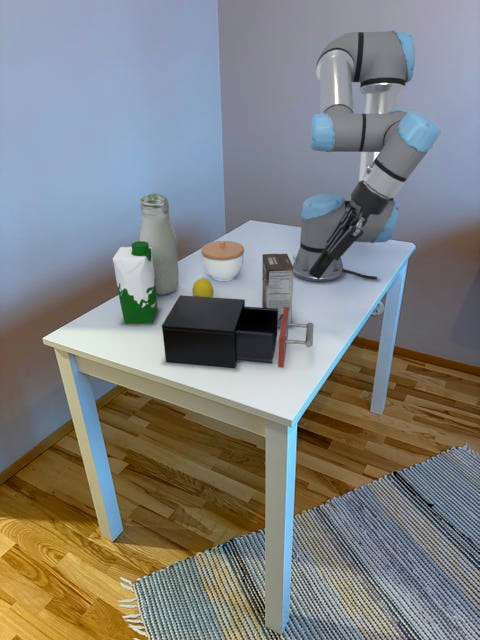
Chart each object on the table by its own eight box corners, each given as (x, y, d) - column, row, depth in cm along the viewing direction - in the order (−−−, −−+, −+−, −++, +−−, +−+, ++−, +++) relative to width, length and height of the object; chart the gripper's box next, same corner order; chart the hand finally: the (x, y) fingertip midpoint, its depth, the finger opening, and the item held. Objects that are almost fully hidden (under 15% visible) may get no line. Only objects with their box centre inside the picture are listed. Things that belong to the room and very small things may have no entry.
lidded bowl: (214, 265, 149) (213, 232, 143) (250, 271, 144) (250, 238, 138) (195, 280, 139) (192, 246, 133) (233, 288, 134) (232, 252, 129)
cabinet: (245, 334, 113) (244, 299, 108) (235, 368, 101) (234, 331, 96) (183, 329, 115) (179, 295, 110) (165, 362, 103) (161, 325, 98)
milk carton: (155, 325, 117) (145, 251, 107) (119, 325, 117) (107, 251, 107) (161, 308, 124) (153, 237, 114) (128, 308, 125) (116, 237, 115)
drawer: (312, 337, 109) (314, 308, 105) (310, 370, 98) (313, 339, 94) (228, 331, 112) (227, 302, 108) (217, 362, 101) (215, 331, 97)
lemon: (211, 310, 123) (209, 283, 119) (191, 308, 124) (189, 281, 120) (216, 300, 128) (215, 274, 124) (196, 299, 129) (195, 272, 125)
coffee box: (261, 310, 123) (261, 253, 115) (285, 309, 123) (287, 252, 115) (265, 328, 115) (266, 268, 107) (291, 326, 115) (294, 267, 107)
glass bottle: (144, 301, 128) (131, 200, 114) (147, 285, 137) (135, 189, 123) (180, 299, 129) (171, 199, 115) (181, 283, 138) (173, 188, 123)
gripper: (358, 170, 99) (300, 254, 113) (363, 192, 89) (299, 282, 102) (387, 186, 101) (326, 268, 114) (396, 210, 90) (328, 297, 104)
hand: (314, 275), depth 108 cm, fingers closed
